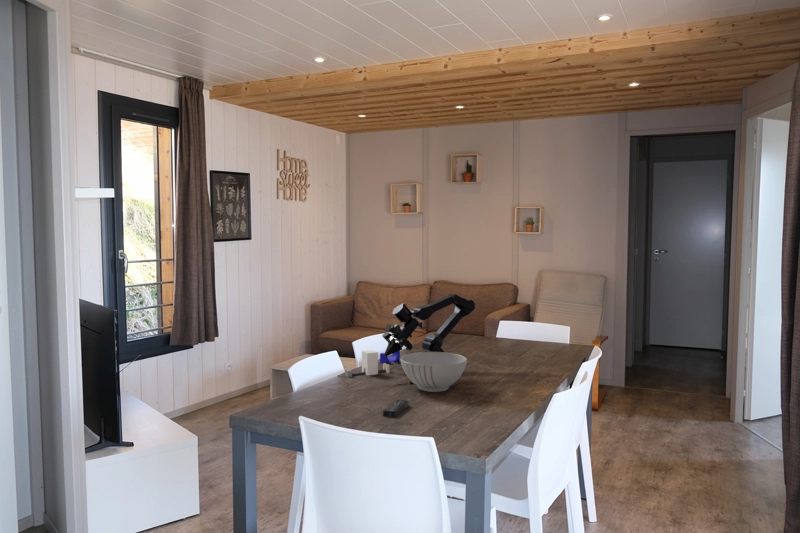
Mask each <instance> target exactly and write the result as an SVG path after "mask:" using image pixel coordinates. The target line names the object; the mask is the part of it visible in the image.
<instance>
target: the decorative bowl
mask: <svg viewBox="0 0 800 533" xmlns="http://www.w3.org/2000/svg"><path fill="white" fill-rule="evenodd" d="M467 363H468V358H467V357H466V356H465V355H461V354H459V353H453V352H446V351H444V352H425V351H419V352H412V353H411V352H410V353H406V354H405V355H402V356H400V364H401V367H402V369H403V372H404V373H405V375H406V377H407V378H408V380H410V381H411V382H412V383H413V384H414V385H416V386H417V388H418V389H419V390H420V391H424V392H431V393H432V392H435V393H436V392H437V393H439V392H446V391H447V390H449V388H450V386H452V385H453V384H455V383H456V382H457V381H458V380H459V378H461V376H462V374H464V372H465V369H466V367H467Z"/></svg>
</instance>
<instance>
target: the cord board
mask: <svg viewBox="0 0 800 533" xmlns="http://www.w3.org/2000/svg"><path fill="white" fill-rule="evenodd" d="M380 373H381V374H382V373H386V374H389V373H391V371H390V364H388V363H382V369H378V374H380ZM363 375H366V372H362V371H360V372H359V371H358V372H353V370H351V369H345V372H344V376H345V377H347V378H349V377H350V378H351V377H354V376H363Z"/></svg>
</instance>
